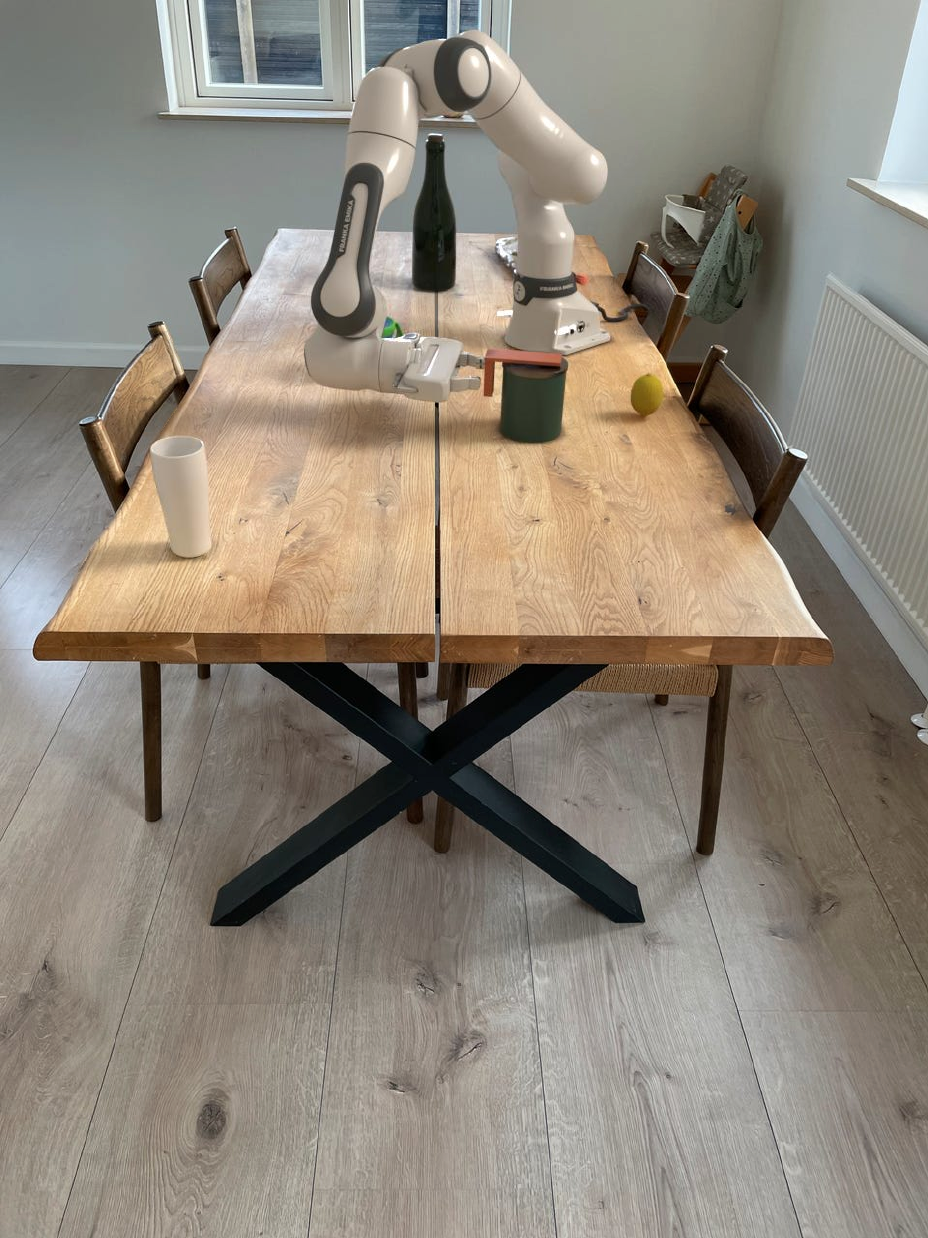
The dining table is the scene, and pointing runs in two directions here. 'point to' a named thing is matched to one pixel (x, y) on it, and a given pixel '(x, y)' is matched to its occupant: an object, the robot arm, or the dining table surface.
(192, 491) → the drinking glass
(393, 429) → the dining table surface
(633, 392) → the lemon
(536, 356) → the bracket
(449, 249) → the dark green wine bottle
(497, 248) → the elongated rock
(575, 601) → the dining table surface
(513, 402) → the green canister
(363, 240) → the robot arm
